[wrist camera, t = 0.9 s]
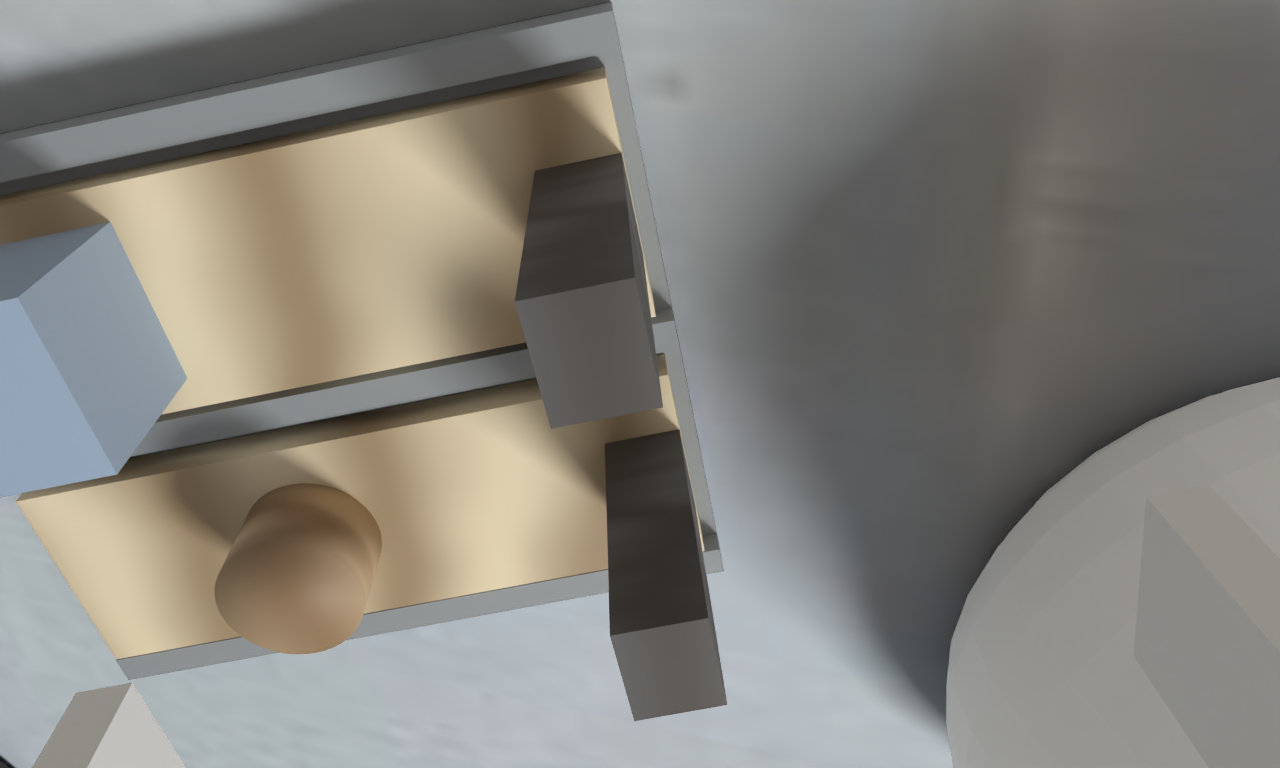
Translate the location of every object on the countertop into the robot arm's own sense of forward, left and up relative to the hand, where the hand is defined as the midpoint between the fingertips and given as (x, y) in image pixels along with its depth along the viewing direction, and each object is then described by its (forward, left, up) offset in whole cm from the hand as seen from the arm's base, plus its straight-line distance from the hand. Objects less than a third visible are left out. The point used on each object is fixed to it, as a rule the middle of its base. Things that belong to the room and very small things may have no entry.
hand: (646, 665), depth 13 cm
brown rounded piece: (-12, -8, -17) cm, 22 cm away
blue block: (-16, +1, -17) cm, 23 cm away
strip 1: (-10, +1, -19) cm, 21 cm away
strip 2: (-10, -8, -19) cm, 23 cm away
